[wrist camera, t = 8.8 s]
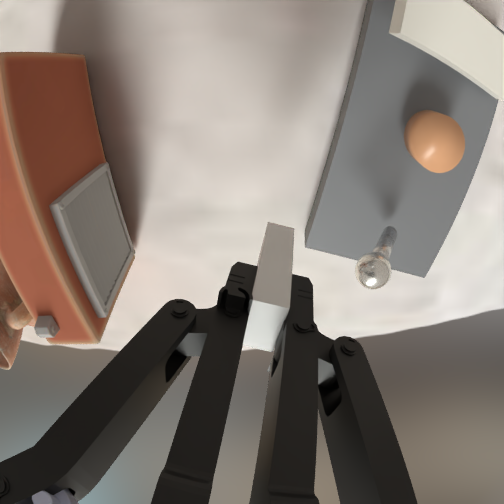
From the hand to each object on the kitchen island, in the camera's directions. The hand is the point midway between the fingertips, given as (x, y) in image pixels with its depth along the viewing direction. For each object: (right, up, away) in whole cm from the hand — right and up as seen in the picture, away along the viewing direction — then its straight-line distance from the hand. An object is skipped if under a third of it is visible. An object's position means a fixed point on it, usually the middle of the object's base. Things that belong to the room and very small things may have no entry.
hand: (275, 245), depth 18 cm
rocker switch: (+12, +13, -5) cm, 19 cm away
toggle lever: (+10, +1, +5) cm, 11 cm away
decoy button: (+11, +8, 0) cm, 13 cm away
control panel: (-17, +9, +9) cm, 22 cm away
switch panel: (+12, +10, +3) cm, 16 cm away
